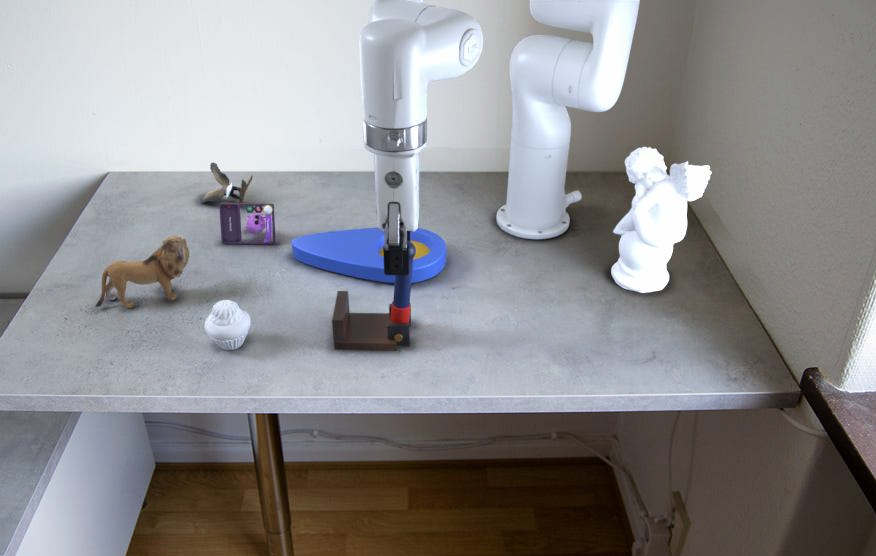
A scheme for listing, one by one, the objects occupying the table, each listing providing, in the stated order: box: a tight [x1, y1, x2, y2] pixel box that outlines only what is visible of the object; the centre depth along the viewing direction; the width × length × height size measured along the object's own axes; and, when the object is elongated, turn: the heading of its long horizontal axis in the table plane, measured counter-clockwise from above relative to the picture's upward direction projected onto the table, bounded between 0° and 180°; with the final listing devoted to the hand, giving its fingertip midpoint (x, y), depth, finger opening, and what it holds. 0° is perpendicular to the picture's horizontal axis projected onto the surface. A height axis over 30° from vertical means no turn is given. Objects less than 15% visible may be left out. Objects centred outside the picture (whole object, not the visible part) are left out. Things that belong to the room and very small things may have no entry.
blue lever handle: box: [390, 241, 416, 323], centre depth 103 cm, size 14×3×3 cm
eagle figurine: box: [199, 162, 254, 204], centre depth 139 cm, size 8×7×9 cm
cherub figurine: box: [610, 146, 713, 294], centre depth 113 cm, size 12×12×22 cm
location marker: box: [291, 227, 447, 284], centre depth 123 cm, size 13×3×25 cm
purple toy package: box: [218, 202, 277, 245], centre depth 129 cm, size 7×5×9 cm
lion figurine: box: [95, 235, 190, 309], centre depth 113 cm, size 15×5×9 cm, turn 116°
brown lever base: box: [331, 290, 412, 351], centre depth 107 cm, size 10×7×5 cm
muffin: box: [204, 299, 252, 351], centre depth 105 cm, size 6×6×7 cm
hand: (397, 262), depth 101 cm, fingers open, 4 cm apart
